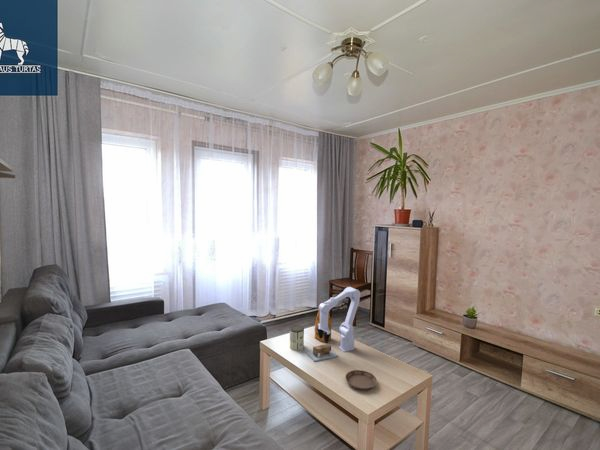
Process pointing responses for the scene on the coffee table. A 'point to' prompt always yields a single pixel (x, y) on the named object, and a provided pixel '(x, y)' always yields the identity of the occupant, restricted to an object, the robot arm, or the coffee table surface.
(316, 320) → the coffee package
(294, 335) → the coffee can
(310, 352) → the peg board
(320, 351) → the walnut bar
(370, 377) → the plant saucer
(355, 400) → the coffee table surface
